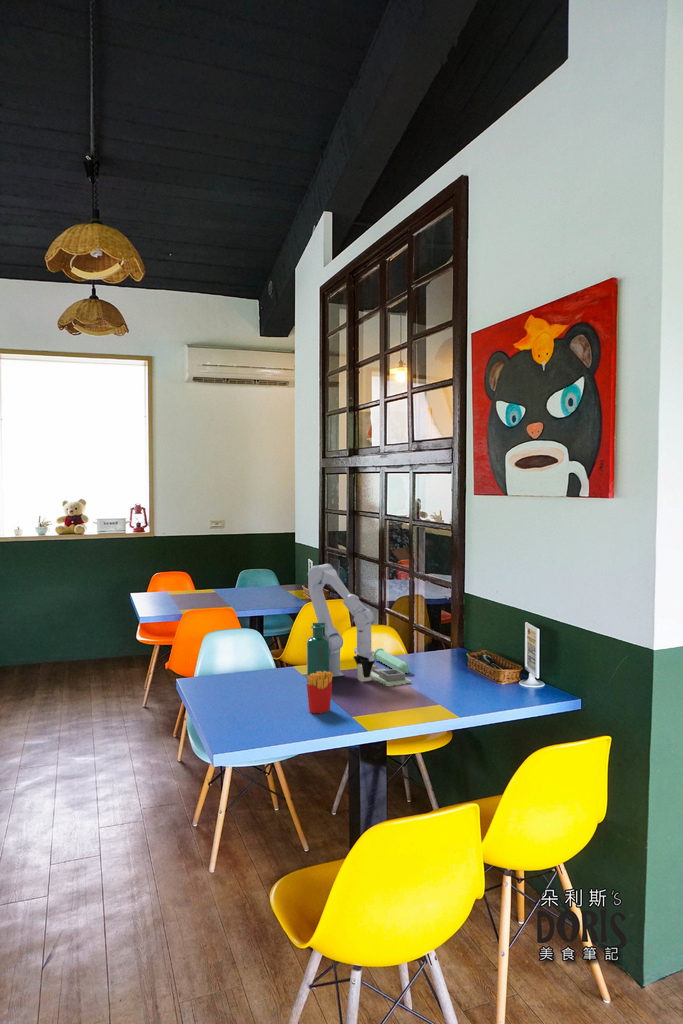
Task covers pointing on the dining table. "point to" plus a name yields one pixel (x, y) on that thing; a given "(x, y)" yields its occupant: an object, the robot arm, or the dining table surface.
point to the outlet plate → (389, 676)
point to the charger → (360, 674)
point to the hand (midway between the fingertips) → (364, 675)
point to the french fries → (319, 691)
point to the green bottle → (318, 650)
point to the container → (390, 660)
